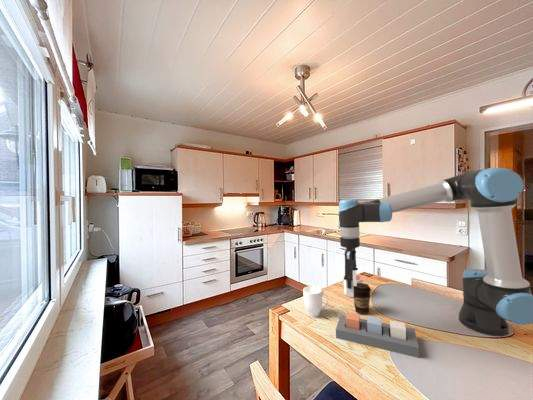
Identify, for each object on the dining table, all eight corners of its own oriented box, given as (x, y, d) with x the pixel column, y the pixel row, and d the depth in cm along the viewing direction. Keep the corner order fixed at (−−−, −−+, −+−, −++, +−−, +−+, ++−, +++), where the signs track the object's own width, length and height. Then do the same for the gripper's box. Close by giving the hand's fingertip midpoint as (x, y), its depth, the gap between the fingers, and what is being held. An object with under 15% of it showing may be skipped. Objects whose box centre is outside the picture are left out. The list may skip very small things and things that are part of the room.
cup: (340, 292, 131) (339, 275, 131) (354, 289, 134) (354, 273, 134) (351, 300, 122) (351, 281, 122) (367, 296, 125) (366, 278, 125)
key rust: (360, 325, 94) (359, 314, 94) (359, 332, 90) (358, 320, 90) (347, 323, 97) (347, 312, 97) (346, 329, 92) (345, 318, 92)
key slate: (381, 330, 91) (381, 318, 91) (381, 337, 86) (381, 325, 86) (368, 327, 93) (367, 316, 93) (367, 334, 89) (367, 322, 89)
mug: (305, 319, 105) (304, 293, 105) (303, 310, 114) (301, 286, 114) (330, 318, 105) (329, 292, 105) (326, 309, 114) (325, 285, 114)
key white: (405, 335, 87) (404, 322, 87) (406, 342, 83) (405, 330, 83) (390, 332, 89) (389, 320, 89) (390, 339, 85) (390, 326, 85)
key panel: (414, 337, 89) (414, 328, 89) (419, 357, 78) (419, 347, 78) (340, 322, 102) (340, 314, 101) (336, 337, 91) (335, 329, 91)
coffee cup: (374, 317, 104) (372, 289, 104) (355, 316, 106) (353, 288, 106) (369, 307, 113) (368, 282, 113) (351, 307, 115) (350, 281, 114)
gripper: (344, 231, 105) (346, 279, 105) (335, 242, 84) (337, 300, 85) (361, 232, 101) (363, 281, 102) (356, 243, 81) (358, 304, 81)
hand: (351, 290), depth 93 cm, fingers open, 10 cm apart
